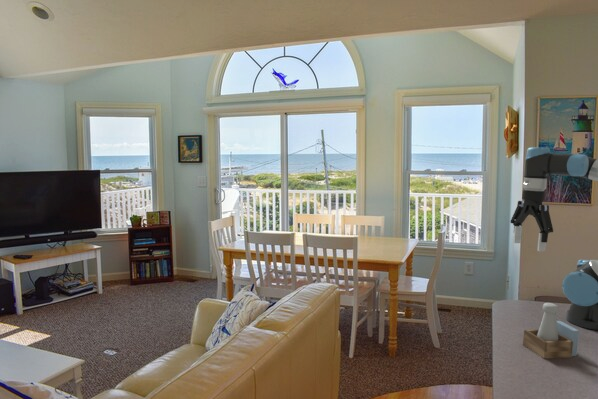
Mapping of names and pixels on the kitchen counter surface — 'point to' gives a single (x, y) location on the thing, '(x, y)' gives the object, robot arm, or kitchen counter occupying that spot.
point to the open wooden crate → (548, 345)
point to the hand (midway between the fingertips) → (528, 246)
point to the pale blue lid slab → (569, 334)
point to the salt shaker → (549, 323)
